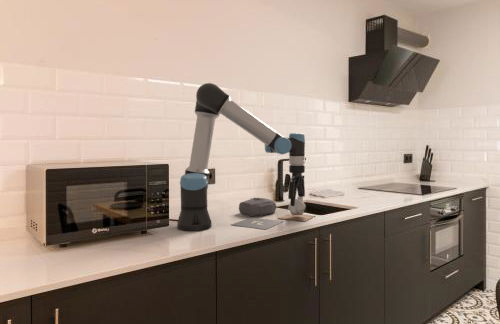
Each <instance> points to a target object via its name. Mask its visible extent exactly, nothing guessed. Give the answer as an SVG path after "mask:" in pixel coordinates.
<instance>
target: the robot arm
mask: <svg viewBox="0 0 500 324" xmlns="http://www.w3.org/2000/svg"><path fill="white" fill-rule="evenodd" d="M195 97H196V101H195V109H194V114H195V115H196V122H195V128H194V134H193V142H192V147H191V154H190V161H189V165H188V167H186V168H185V171H184V174H183V175H181V177H180V181H179V185H180V212H179V216H178V219H177V223H176V228H177V229H178V230H180V231H186V232H187V231H188V232H193V231H194V232H195V231H196V232H198V231H204V230H207V229H208V230H209V229H211V227H212V224H213V223H212V219H211V217H210V213H209V210H208V190H209V189H208V188H209V181H210V175H211V173H210V171H209V170H208V166H209V159H210V155H211V149H212V142H213V141H212V140H213V135H214V129H215V123H216V119H218V118H219V117H220V115H222V116H223V117H225V118H227V119H228V120H229V121H230V122H232V123H234V124H235V125H236V126H238V127H239V128H241V129H243V131H245V132H247V133H248V134H250V135H251V136H253V137H254V138H256V139H258V141H260V142H261V143H263V144H264V151H265V153H266V154H267V153H269V154H274V153H275V154H279V155H285V154H288V157H289V158H288V160H289V161H288V163H289V165H288V171H289V173H290V174H291V177H289V178H288V182H289V183H288V194H287V195H288V196H287V198H288V199H289V200H290V201H291V212H293V213H296V199H302V200H303V201H304V197H305V196H306V193H305V191H306V190H305V188H306V187H305V175H302V174H303V173H305V169H306V167H305V163H306V162H305V161H306V157H305V151H306V150H305V149H306V148H305V147H306V138H305V134H304V133H302V132H294V133H293V132H291V133H289V134H288V135H289V136H288V137H286V136H283V135H282V134H281V133H280V132H277V131H276V130H275V129H273V128H272V127H270V126H269V125H268V124H266V123H265V122H263V121H262V120H261V119H259V118H257V116H255V115H253V114H252V113H251V112H249V111H248V110H246V109H245V108H243V107H242V106H240V105H239V104H238V103H236V102H235V101H234V100H232V98H231V96H230V95H229V94H227V93H226V92H225V91H223V90H222V89H221V88H220V87H219V86H218V85H217V84H214V83H212V82H207V83H204V84H202V85H200V86H199V87H198V89H197V91H196V94H195Z"/></svg>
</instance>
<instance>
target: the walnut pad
mask: <svg viewBox="0 0 500 324" xmlns="http://www.w3.org/2000/svg"><path fill="white" fill-rule="evenodd" d="M313 217H314V218H315V217H316V215H310V214H303V215H292V214H291V213H290V212H289V213H287V214H285V215H282V216H280V217H278V218H277V219H278V220H282V221H293V222H294V221H295V222H300V223H301V222H303V223H306V222H308V221H310V220H312V219H313ZM311 218H312V219H311ZM309 219H310V220H309Z"/></svg>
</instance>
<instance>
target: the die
mask: <svg viewBox="0 0 500 324" xmlns="http://www.w3.org/2000/svg"><path fill="white" fill-rule="evenodd" d="M295 199H296V213H293V212H291V200H290V201H289V203H288V207H287V208H288V210H289V213H291V214H292V215H304V212H305V209H306V204H305V202H304V199H303V200H302V199H297V198H295Z"/></svg>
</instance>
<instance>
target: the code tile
mask: <svg viewBox="0 0 500 324" xmlns="http://www.w3.org/2000/svg"><path fill="white" fill-rule="evenodd" d="M284 221H285V220H279V219H278V220H277V219H268V218H260V217H259V218H258V217H253V216H249V217H248V218H246V219H242V220H240V221H238V222H234V223H231V224H230V226H236V227H243V228H251V229H257V230H265V231H266V230H269V229H271V228H273V227H275V226H277V225H280V224H281V223H283V222H284ZM279 223H280V224H279Z"/></svg>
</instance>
